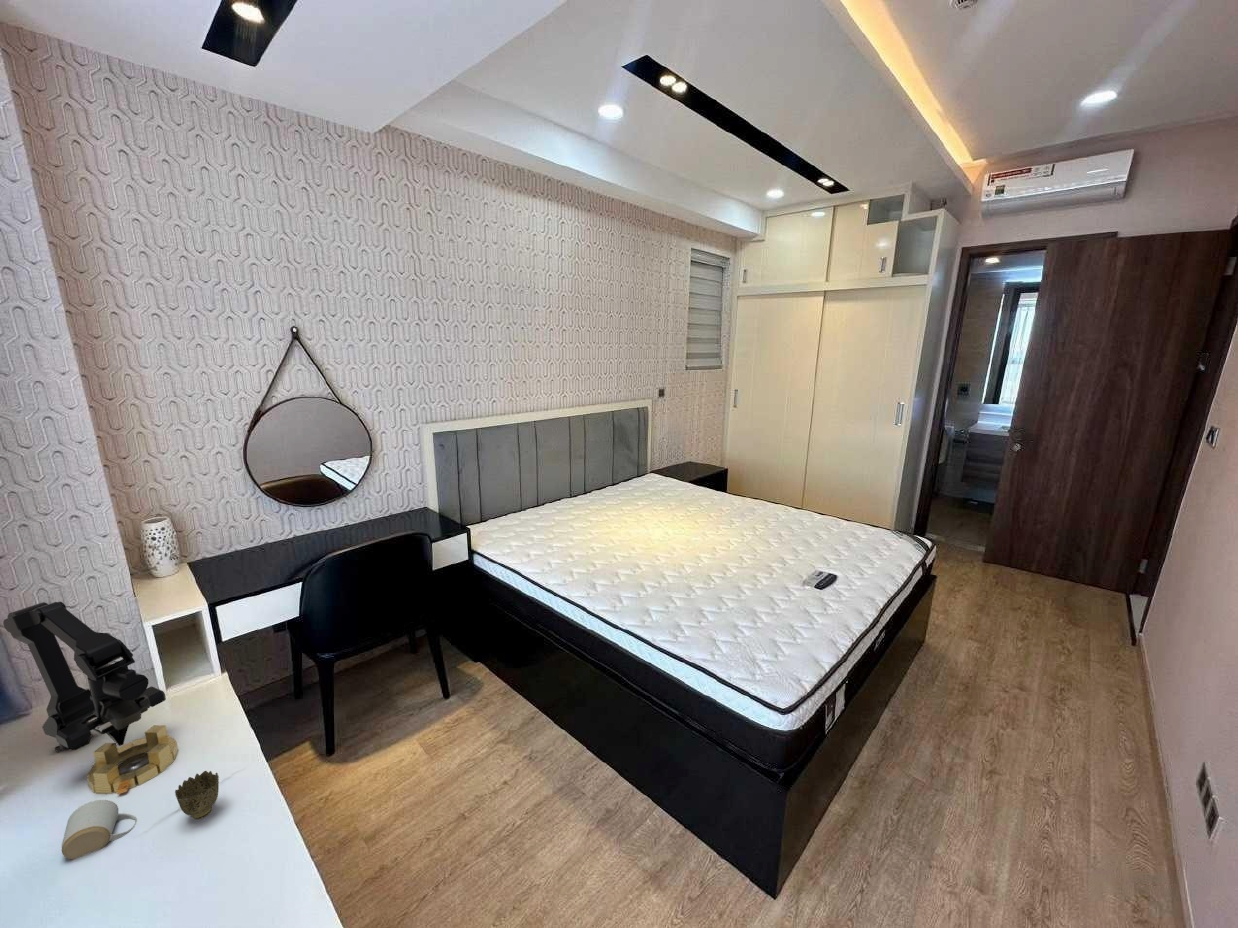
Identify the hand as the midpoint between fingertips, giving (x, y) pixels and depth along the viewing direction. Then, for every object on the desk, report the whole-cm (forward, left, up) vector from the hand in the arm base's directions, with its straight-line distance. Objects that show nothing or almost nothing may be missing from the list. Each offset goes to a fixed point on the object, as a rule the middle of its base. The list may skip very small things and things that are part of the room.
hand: (120, 744), depth 127 cm
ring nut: (+6, 0, -4) cm, 7 cm away
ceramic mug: (+23, -12, -5) cm, 26 cm away
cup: (+34, +1, -5) cm, 35 cm away
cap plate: (+6, 0, -5) cm, 8 cm away
